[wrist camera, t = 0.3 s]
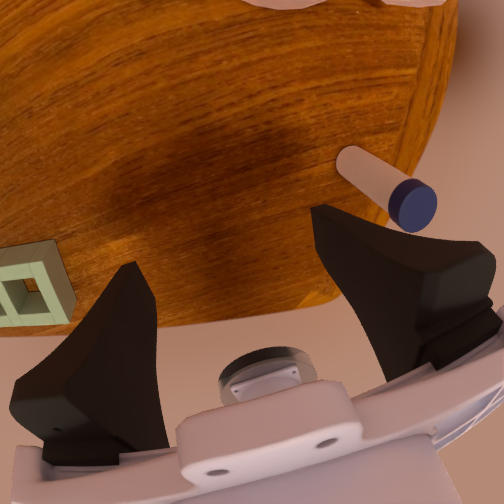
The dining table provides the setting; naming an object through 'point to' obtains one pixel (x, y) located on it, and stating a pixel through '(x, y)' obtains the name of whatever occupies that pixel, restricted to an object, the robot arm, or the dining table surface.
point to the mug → (303, 0)
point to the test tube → (389, 188)
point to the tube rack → (47, 278)
